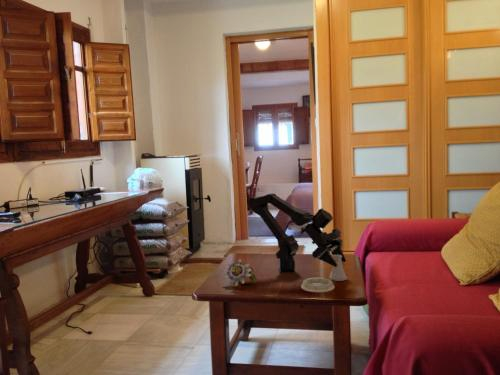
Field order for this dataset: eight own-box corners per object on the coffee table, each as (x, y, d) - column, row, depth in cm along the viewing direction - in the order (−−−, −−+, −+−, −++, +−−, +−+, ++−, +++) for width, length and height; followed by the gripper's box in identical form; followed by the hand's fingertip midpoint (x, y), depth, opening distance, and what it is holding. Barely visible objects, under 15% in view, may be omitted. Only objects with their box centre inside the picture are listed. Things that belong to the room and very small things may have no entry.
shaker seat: (305, 293, 163) (305, 287, 163) (298, 283, 176) (298, 278, 176) (338, 291, 165) (338, 285, 164) (329, 281, 177) (329, 276, 177)
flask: (340, 275, 185) (340, 252, 184) (350, 280, 178) (350, 256, 177) (326, 277, 182) (325, 254, 182) (335, 282, 176) (335, 258, 175)
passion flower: (237, 298, 176) (219, 277, 174) (240, 285, 186) (223, 265, 184) (259, 284, 173) (240, 262, 171) (261, 272, 183) (244, 251, 181)
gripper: (318, 226, 173) (344, 256, 168) (338, 220, 188) (362, 247, 183) (301, 243, 179) (326, 273, 173) (322, 236, 194) (345, 263, 188)
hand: (341, 263), depth 179 cm, fingers open, 8 cm apart
